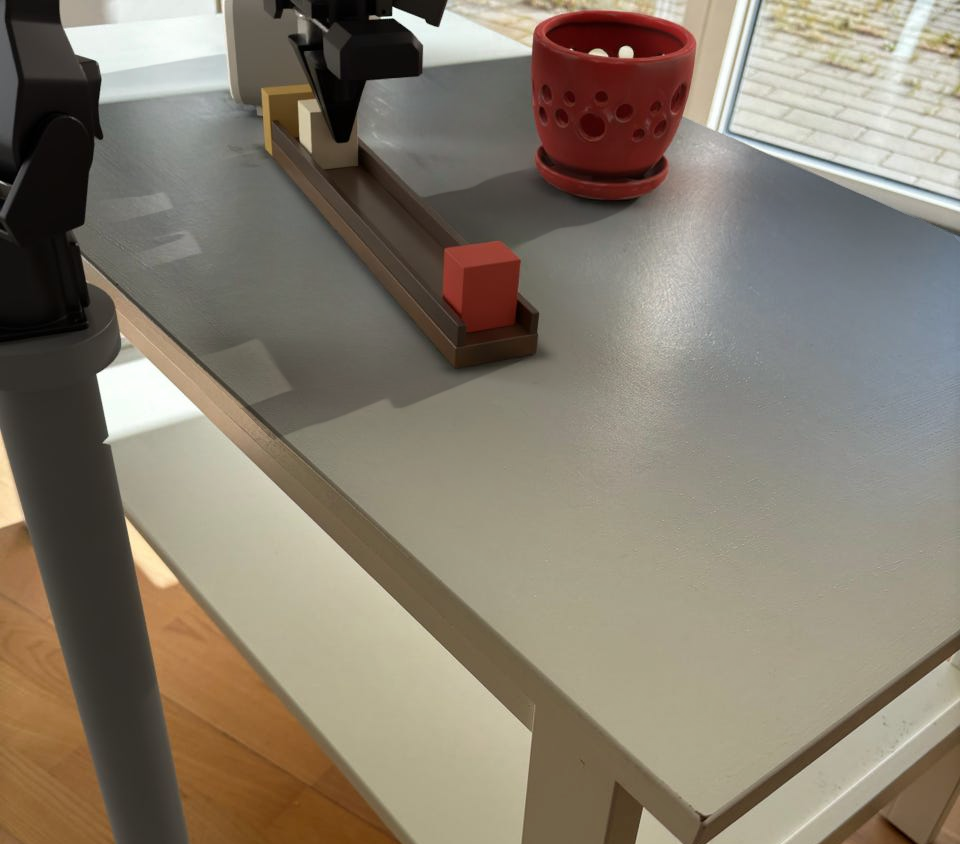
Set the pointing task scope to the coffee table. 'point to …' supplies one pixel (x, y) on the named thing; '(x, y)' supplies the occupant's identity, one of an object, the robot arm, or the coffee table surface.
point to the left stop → (283, 108)
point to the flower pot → (608, 100)
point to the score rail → (401, 248)
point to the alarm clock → (259, 50)
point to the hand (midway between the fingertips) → (341, 141)
